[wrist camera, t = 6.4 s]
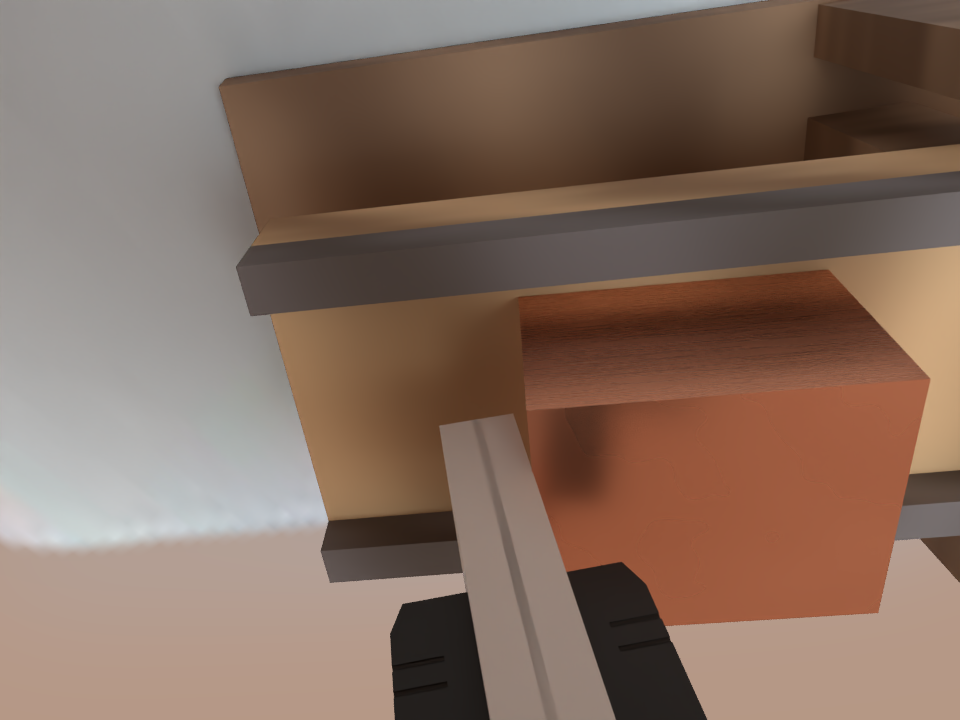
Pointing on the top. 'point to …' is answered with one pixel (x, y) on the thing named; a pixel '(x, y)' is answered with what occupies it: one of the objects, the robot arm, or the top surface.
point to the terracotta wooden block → (723, 441)
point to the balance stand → (603, 108)
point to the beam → (574, 268)
